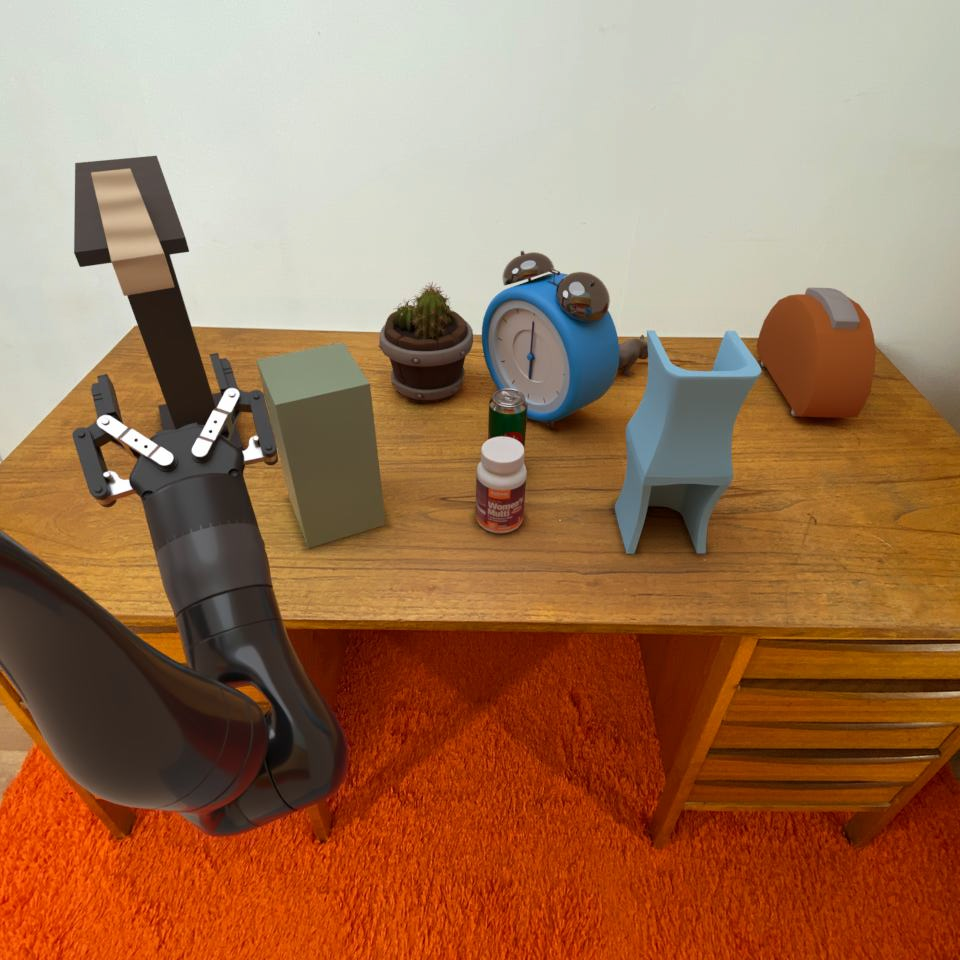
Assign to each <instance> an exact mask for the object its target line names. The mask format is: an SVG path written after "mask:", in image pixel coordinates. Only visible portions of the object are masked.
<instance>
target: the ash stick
mask: <svg viewBox="0 0 960 960" xmlns="http://www.w3.org/2000/svg"><path fill="white" fill-rule="evenodd" d="M91 175H92V180H93V184H94V188H95V193H96V197H97V201H98V206H99V210H100V214H101V219H102V223H103V227H104V232H105V236H106V241H107V245H108V249H109V254H110V258H111V262H112V263H111V264H112V267H113V270H114V273H115V275H116V278H117V282H118V284H119V287H120V290H121V292H122V295H123V296H124V297H126V296H127V295H133V294H139V293H144V292H150V291H156V290H162V289H168V288H173V287H174V284H173V280H172V277H171V274H170V271H169V267H168V264H167V261H166V258H165V254H164V252H163V249H162V247H161V244H160V242H159V239H158V237H157V234H156V232H155V229H154V227H153V224H152V222H151V219H150V217H149V214H148V212H147V209H146V207H145V204H144V202H143V199H142V197H141V194H140V192H139V189H138V187H137V184H136V182H135V179H134V177H133V174H132V172H131V169H130V168H129V169H120V170H111V171H101V172H92V173H91Z"/></svg>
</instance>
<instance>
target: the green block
mask: <svg viewBox="0 0 960 960" xmlns="http://www.w3.org/2000/svg"><path fill="white" fill-rule="evenodd" d="M256 365H257V369H258V373H259V378H260V382H261V386H262V390H263V394H264V398H265V402H266V406H267V410H268V414H269V418H270V422H271V426H272V430H273V434H274V438H275V442H276V447H277V454H278V458H279V461H280V463H281V464H280V465H281V470H282V472H283V473H282V474H283V478H284V481H285V486H286V489H287V493H288V498H289V501H290V504H291V507H292V510H293V512H294V514H295V518H296V520H297V523H298V526H299V528H300V531H301V533H302V536H303V539H304V542H305V544H306V548H307V549H308V550H309V549H311V548H315V547H318V546H322V545H325V544H327V543H332V542H334V541H337V540H341V539H345V538H349V537H350V536H354V535H358V534H360V533H363V532H366V531H370V530H373V529H376V528H380V527H383V526H386V525H387V523H386V512H385V506H384V495H383V486H382V479H381V469H380V461H379V451H378V444H377V443H378V442H377V433H376V424H375V416H374V408H373V398H372V389H371V383H370V381H369V380H368V378H367V377H366V375H365V373H364V372H363V371H362V369H361V367H360V366H359V364H358V363H357V361H356V360H355V358H354V356H353V355H352V353H351V352H350V350H349V348H348V347H347V345H346V344H345V343H344V342H343V341H341V342H336V343H333V344H326V345H322V346H317V347H312V348H307V349H302V350H297V351H292V352H287V353H281V354H278V355H272V356H266V357H262V358H257V359H256Z"/></svg>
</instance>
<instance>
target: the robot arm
mask: <svg viewBox="0 0 960 960" xmlns="http://www.w3.org/2000/svg"><path fill="white" fill-rule="evenodd" d="M209 358H210V362H211V365H212V369H213V372H214V375H215V378H216V382H217V385H218V388H219V392H221V395H222V398H221V400H220V402H219V404H218V406H217V408H216V409H214V410H213V411H212V413H211V415H210V417H209V419H208V421H207V423H206V425H205V426H204V425H198V424H197V423H192V424H188V425H185V426H183V427H181V428H179V429H173V430H162V429H161V430H158V431H155V434H154V435H153V436H151V437H149V438H148V437H146V436H145V435H143V434H142V433H141V432H138V430H136V429H135V428H132V427H129V426H127V425H126V424H124V421H123V417H122V413H121V409H120V405H119V401H118V396H117V393H116V389H115V386H114V383H113V382H112V380H111V378H110V377H109V375H108V374H107V373H105V374H99V375H96V379H97V382H95V383H94V382H93V383H92V384H91V388H90V391H91V396H92V400H93V404H94V408H95V409H94V410H95V413H96V420H95V422H94V423H92V424H91V425H88V426H87V427H84V426H83V427H77V428H75V429H74V431H73V432H72V435H71V437H72V439H73V443H74V445H75V450H76V452H77V453H76V454H77V456H78V459H79V462H80V466H81V469H82V473H83V476H84V479H85V482H86V486H87V489H88V492H89V494H90V495H91V496H92V497H93V499H94V500H95V501H96V502H97V503H98V504H99V505H100V506H101V507H103V508H112V507H113V506H115V505H116V503H117V502H118V501H117V500H119V499H122V498H126V497H129V496H132V495H135V494H136V495H137V496H138V497H140V500H141V504H142V507H143V511H144V515H145V519H146V523H147V527H148V531H149V535H150V538H151V543H152V547H153V551H154V555H155V559H156V563H157V567H158V571H159V575H160V579H161V582H162V586H163V590H164V593H165V595H166V597H167V600H168V602H169V605H170V607H171V610H172V612H173V615H174V618H175V623H176V627H177V631H178V634H179V639H180V643H181V646H182V651H183V654H184V659H185V663H186V665H184V664H182V663H181V662H179V661H177V660H175V659H173V658H172V657H170V656H168V655H166V654H165V653H164V652H162V651H160V650H159V649H157V648H156V647H155V646H153V645H151V644H150V643H148V642H147V641H146V640H145V639H143V638H142V637H141V636H139V635H138V634H137V633H136V632H134V631H133V630H132V629H130V628H129V627H128V626H127V625H125V623H123V621H121V620H119V619H118V618H117V617H116V616H115V615H113V614H112V613H111V612H109V610H107V609H106V607H103V606H102V605H101V604H100V603H99V602H97V601H96V600H95V599H93V598H92V597H91V596H90V595H88V593H86V592H85V591H83V589H81V588H80V587H78V586H77V585H76V584H75V583H73V582H72V581H70V580H69V579H68V578H66V577H65V576H63V574H61V573H59V571H57V570H55V569H54V568H53V567H52V566H50V565H49V564H48V563H47V562H45V561H44V560H43V559H41V558H40V557H39V556H38V555H36V554H35V553H33V552H32V551H31V550H29V548H26V547H25V546H24V545H23V544H21V543H20V542H19V541H17V540H16V539H15V538H13V537H12V536H11V535H10V534H8V533H7V532H5V531H4V530H3V529H1V528H0V670H1V671H2V672H3V673H4V675H5V676H6V677H7V679H8V680H9V681H10V683H11V684H12V686H13V687H14V688H15V690H16V692H17V693H18V695H19V696H20V698H21V700H22V701H23V703H24V705H25V707H26V709H27V710H28V713H30V715H31V717H32V719H33V722H34V723H35V725H36V727H37V728H38V730H39V733H40V734H41V736H42V738H43V739H44V741H45V743H46V745H47V746H48V748H49V750H50V751H51V753H52V755H53V757H54V758H55V760H57V762H58V763H59V765H60V766H61V767H62V769H63V770H64V771H65V772H66V774H67V775H68V776H69V777H70V778H71V779H72V780H73V781H74V782H75V783H76V784H78V785H79V786H81V787H82V788H83V789H85V790H86V791H87V792H89V793H90V794H92V795H93V796H95V797H97V798H99V799H101V800H104V801H106V802H109V803H111V804H114V805H119V806H123V807H127V808H136V809H145V810H153V811H161V812H169V813H177V814H179V815H180V816H181V817H182V818H184V819H185V820H186V821H187V822H189V823H191V825H193V826H194V827H195V828H197V829H198V830H199V831H201V832H202V833H203V834H205V835H207V836H208V837H209V836H210V837H214V838H227V837H228V838H229V837H233V836H234V837H235V836H240V835H243V834H246V833H249V832H252V831H254V830H256V829H259V828H261V827H263V826H266V825H268V824H271V823H273V822H276V821H278V820H281V819H283V818H285V817H287V816H291V815H292V814H295V813H297V812H299V811H302V810H305V809H307V808H310V807H313V806H315V805H317V804H319V803H321V802H324V801H326V800H327V799H330V798H331V797H332V796H334V795H336V793H337V792H338V791H340V789H341V786H342V785H343V784H344V782H345V779H346V776H347V773H348V769H349V768H348V767H349V761H350V759H349V758H350V757H349V756H350V755H349V753H350V752H349V751H350V750H349V744H348V740H347V736H346V734H345V731H344V728H343V727H342V726H343V725H342V724H341V723H340V721H339V720H338V718H337V716H336V714H335V712H334V711H333V709H332V708H331V707H330V705H329V703H328V702H327V701H326V699H325V698H324V696H323V695H322V693H321V692H320V691H319V689H318V687H317V686H316V685H315V683H314V681H313V680H312V678H311V676H310V675H309V673H308V671H307V669H306V668H305V666H304V664H303V663H302V661H301V659H300V657H299V656H298V653H297V652H296V650H295V648H294V646H293V644H292V642H291V639H290V637H289V634H288V632H287V629H286V626H285V622H284V620H283V617H282V613H281V610H280V607H279V603H278V600H277V597H276V594H275V589H274V585H273V580H272V575H271V568H270V567H271V566H270V561H269V557H268V553H267V550H266V543H265V541H264V539H263V537H262V533H261V530H260V526H259V524H258V519H257V517H256V514H255V513H256V512H255V510H254V506H253V504H252V500H251V497H250V493H249V490H248V487H247V484H246V481H245V477H244V471H245V468H246V466H250V465H254V464H260V463H264V464H265V465H267V466H274V465H276V464H277V463H278V462H279V453H278V448H277V444H276V440H275V436H274V432H273V428H272V424H271V419H270V415H269V411H268V407H267V403H266V399H265V394H264V391H261V390H260V389H252V390H251V391H244V390H241V389H240V388H239V386H238V384H237V380H236V377H235V374H234V372H233V371H234V370H233V368H232V365H231V362H230V361H229V359H228V358H226V357H222V358H220V355H219V353H218V352H214V353H209ZM242 413H248V414H249V413H251V415H252V419H253V423H254V426H255V427H254V428H255V431H256V435H253V436H251V437H250V438H249V440H248V446H247V448H246V449H244V451H242V450H241V449H240V448H238V447H237V446H236V445H234V444H233V443H231V442H230V441H229V440H230V438H231V436H232V434H233V431H234V426H235V424H236V425H237V422H238V420H239V417H240V416H241V414H242ZM108 443H112V444H113V445H115V446H116V447H118V448H120V449H121V450H123V451H124V452H125V453H127V454H128V455H129V456H130V457H131V458H133V459H134V460H135V461H136V462H135V464H134V466H133V468H132V470H131V471H130V474H129V477H128V479H125V478H124V479H123V478H121V477H120V475H119V474H118V473H117V472H116V471H114V470H108V466H107V464H106V460H105V457H104V454H103V451H102V447H103V446H105V445H106V444H108ZM244 687H253V688H254V689H256V690H257V691H258V692H259V693H260V694H262V696H263V697H264V698H265V699H266V700H267V702H268V704H269V706H270V708H271V709H270V708H269V709H268V710H265V711H263V710H262V708H261V707H260V706H259V705H258V703H257V702H256V701H255V700H254V699H253V698H252V697H250V696H249V695H248V694H246V693H244V692H243V691H241V690H239V689H240V688H244ZM238 688H239V689H238Z"/></svg>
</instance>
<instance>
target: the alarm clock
mask: <svg viewBox="0 0 960 960" xmlns="http://www.w3.org/2000/svg"><path fill="white" fill-rule="evenodd" d="M519 252H520V255H517V256H516V257H513V258H512V259H510V260H509V262H507V264H506V265H505V267H504V268H503V272H502V284H503V286H508V285H513V284H515V283H516V284H517V283H519V282H521V283H519V284H517V285H513V286H511V287H508V288H505V289H503V290H502V291H500V292H499V293H498V294H496V295H495V296H494V297H493V298H492V299H491V300H490V302H489V304H488V306H487V308H486V310H485V312H484V315H483V319H482V324H481V325H482V326H481V347H482V353H483V357H484V358H483V359H484V362H485V364H486V368H487V371H488V374H489V375H490V378H491V380H492V383H493V384H494V385H495V387H496V388H497V391H498V390H500V389H515V390H518V391H520V392H522V393H523V394H524V395H525V400H526V401H527V404H528V409H527V419H529V420H532V421H535V422H539V423H547V426H548V427H549V429H550V431H553V430H555V426H554V423H555V422H558V421H560V420H562V419H564V418H567V417H569V416H570V415H572V414H574V413H575V412H578V411H579V410H581V409H583V408H585V407H587V406H589V405H591V404H592V403H594V402H597V401H598V400H600V399H601V398H602V397H603V396H605V394H607V393H608V391H609V390H610V389H611V387H612V386H613V384H614V381H615V379H616V377H617V374H618V370H619V368H618V365H619V344H620V342H619V336H618V332H617V328H616V325H615V322H614V320H613V317H612V315H611V313H610V310H609V309H610V303H611V296H610V293H609V289H608V288H607V286H606V284H605V283H604V282H603V281H602V279H600V278H599V277H598V276H596V275H594V274H592V273H590V272H587V271H574V272H570V273H568V274H567V273H561V271H559V270H557V269H555V265H554V263H553V261H552V259H551V258H550V257H549V256H547V255H545V254H544V253H541V252H535V251H532V252H531V251H530V252H526V253H525V251H524V250H521V251H519ZM544 274H545V275H544ZM535 277H536V278H535ZM532 278H533V279H532ZM526 280H527V281H526ZM522 281H525V282H522Z"/></svg>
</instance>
